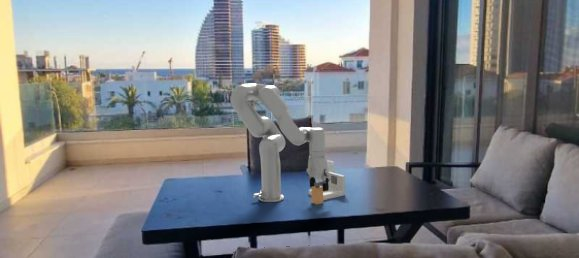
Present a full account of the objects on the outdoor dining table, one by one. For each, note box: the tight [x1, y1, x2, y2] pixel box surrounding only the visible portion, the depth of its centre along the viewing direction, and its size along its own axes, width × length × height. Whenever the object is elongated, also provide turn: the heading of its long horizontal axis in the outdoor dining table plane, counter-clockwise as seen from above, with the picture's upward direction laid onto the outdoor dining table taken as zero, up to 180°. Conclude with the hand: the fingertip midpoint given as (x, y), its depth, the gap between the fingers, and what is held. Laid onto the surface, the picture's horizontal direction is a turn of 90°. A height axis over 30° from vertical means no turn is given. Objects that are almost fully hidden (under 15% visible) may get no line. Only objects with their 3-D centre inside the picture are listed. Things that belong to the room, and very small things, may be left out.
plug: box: [310, 181, 324, 205], centre depth 213 cm, size 4×4×10 cm
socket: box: [308, 171, 346, 201], centre depth 225 cm, size 14×12×10 cm
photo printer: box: [315, 159, 335, 183], centre depth 251 cm, size 10×4×12 cm, turn 98°
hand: (319, 188), depth 212 cm, fingers open, 9 cm apart
